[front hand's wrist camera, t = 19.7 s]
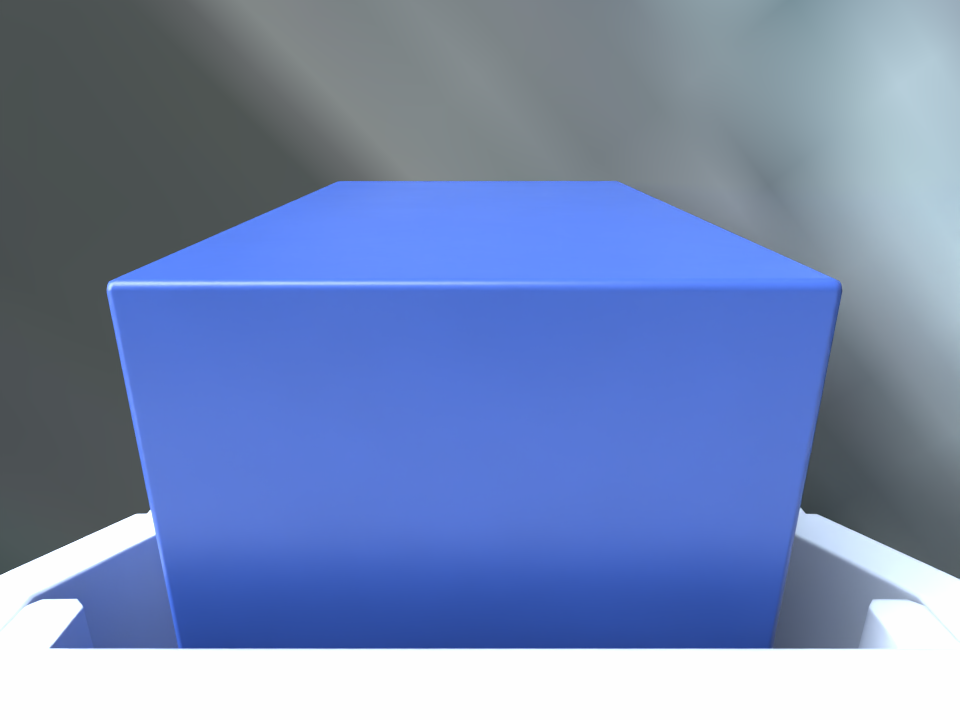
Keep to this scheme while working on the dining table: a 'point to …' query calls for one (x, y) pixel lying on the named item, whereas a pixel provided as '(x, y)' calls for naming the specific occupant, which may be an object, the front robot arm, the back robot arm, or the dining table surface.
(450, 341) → the block
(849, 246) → the dining table surface
